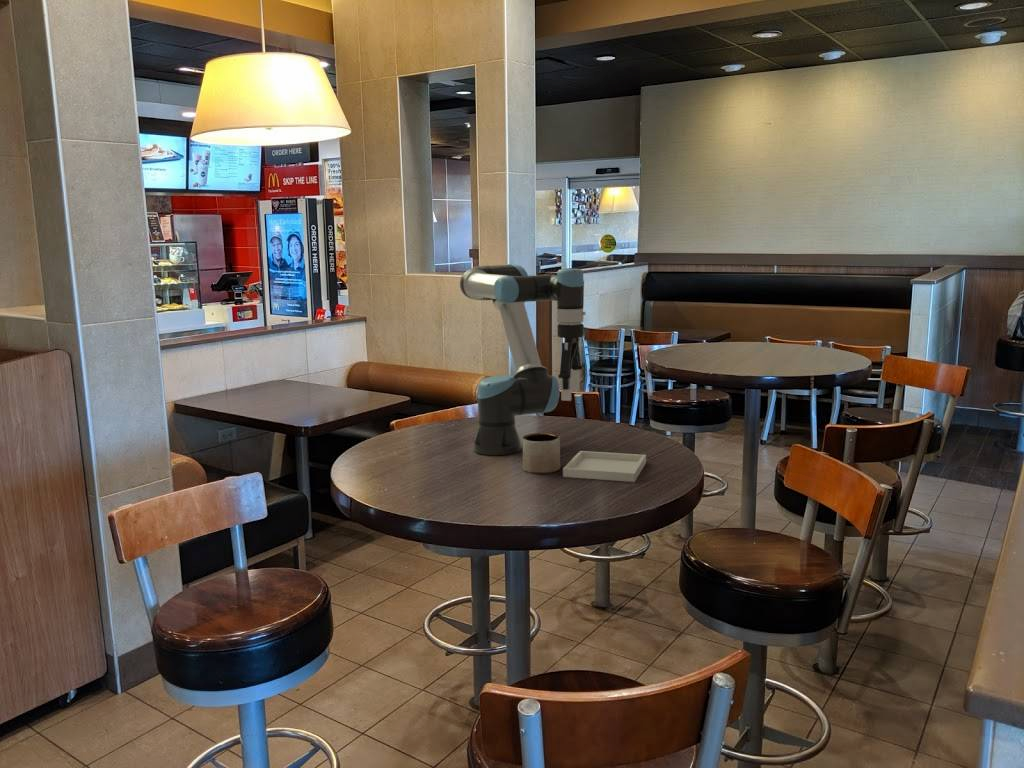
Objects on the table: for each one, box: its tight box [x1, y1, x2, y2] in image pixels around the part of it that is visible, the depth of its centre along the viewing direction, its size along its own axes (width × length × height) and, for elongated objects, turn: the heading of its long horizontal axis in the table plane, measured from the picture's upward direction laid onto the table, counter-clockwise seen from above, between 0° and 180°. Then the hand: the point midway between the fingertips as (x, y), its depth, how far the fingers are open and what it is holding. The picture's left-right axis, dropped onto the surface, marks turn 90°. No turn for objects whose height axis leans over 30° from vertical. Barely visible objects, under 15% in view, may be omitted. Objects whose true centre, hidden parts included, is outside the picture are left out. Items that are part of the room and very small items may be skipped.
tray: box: [562, 450, 647, 483], centre depth 225 cm, size 20×20×2 cm
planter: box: [522, 432, 561, 475], centre depth 226 cm, size 11×11×10 cm
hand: (570, 395), depth 229 cm, fingers open, 13 cm apart
